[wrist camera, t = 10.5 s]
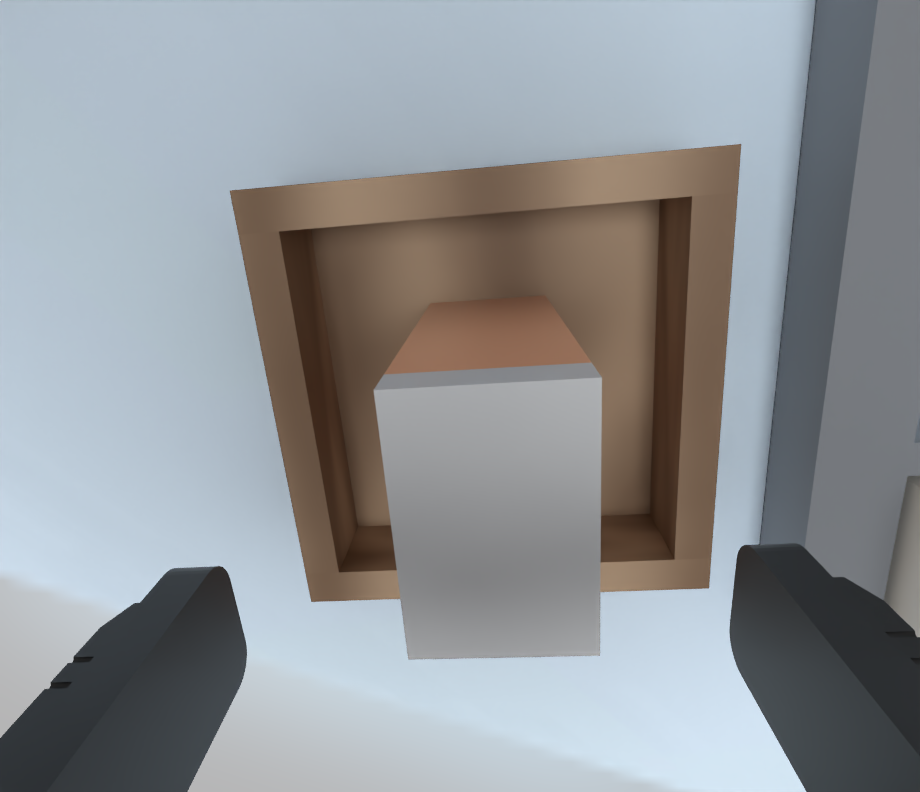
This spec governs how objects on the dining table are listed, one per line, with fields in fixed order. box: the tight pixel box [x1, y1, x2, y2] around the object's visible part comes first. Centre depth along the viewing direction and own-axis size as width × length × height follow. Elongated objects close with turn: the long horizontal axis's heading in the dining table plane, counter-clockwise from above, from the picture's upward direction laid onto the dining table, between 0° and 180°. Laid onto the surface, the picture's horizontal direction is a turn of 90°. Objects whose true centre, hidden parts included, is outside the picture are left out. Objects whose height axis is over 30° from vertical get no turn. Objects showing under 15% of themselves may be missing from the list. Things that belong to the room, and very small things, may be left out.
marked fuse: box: [374, 296, 602, 659], centre depth 15 cm, size 6×4×10 cm, turn 4°
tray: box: [230, 144, 741, 602], centre depth 19 cm, size 14×14×4 cm
